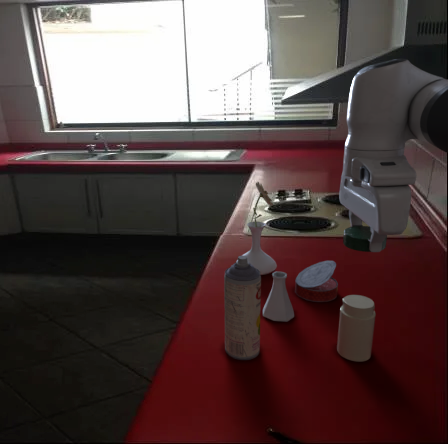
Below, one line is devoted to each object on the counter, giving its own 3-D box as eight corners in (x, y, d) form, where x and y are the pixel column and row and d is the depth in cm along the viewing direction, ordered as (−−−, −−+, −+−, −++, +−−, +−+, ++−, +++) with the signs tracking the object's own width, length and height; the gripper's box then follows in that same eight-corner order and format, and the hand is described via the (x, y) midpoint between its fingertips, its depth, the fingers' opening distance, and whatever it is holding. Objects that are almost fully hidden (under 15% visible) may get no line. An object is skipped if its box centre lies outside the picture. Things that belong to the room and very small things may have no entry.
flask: (298, 310, 96) (300, 270, 93) (290, 325, 91) (292, 284, 87) (267, 303, 100) (268, 265, 97) (257, 318, 94) (258, 277, 91)
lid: (346, 251, 72) (346, 239, 71) (340, 237, 78) (340, 225, 77) (390, 252, 70) (391, 239, 69) (380, 237, 76) (381, 226, 75)
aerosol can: (262, 359, 80) (264, 264, 74) (227, 360, 80) (226, 265, 74) (256, 339, 86) (257, 249, 80) (223, 340, 87) (222, 251, 81)
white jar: (367, 344, 83) (373, 294, 79) (373, 363, 77) (380, 310, 74) (334, 341, 84) (339, 292, 81) (339, 359, 79) (343, 308, 75)
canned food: (327, 318, 101) (325, 294, 94) (288, 302, 107) (284, 278, 100) (347, 285, 105) (347, 259, 99) (309, 271, 112) (307, 246, 105)
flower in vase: (275, 280, 111) (278, 189, 104) (232, 277, 115) (232, 188, 107) (278, 261, 123) (280, 178, 115) (239, 258, 126) (239, 178, 119)
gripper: (333, 155, 80) (328, 224, 84) (377, 177, 60) (368, 265, 64) (367, 154, 79) (361, 223, 83) (423, 175, 60) (411, 264, 64)
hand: (364, 242), depth 74 cm, fingers closed on lid, 7 cm apart
